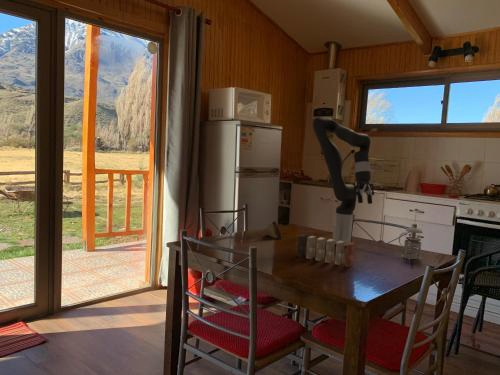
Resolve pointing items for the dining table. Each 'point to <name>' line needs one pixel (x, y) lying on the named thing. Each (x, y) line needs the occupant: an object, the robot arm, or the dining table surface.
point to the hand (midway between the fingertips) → (365, 203)
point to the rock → (274, 231)
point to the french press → (414, 243)
